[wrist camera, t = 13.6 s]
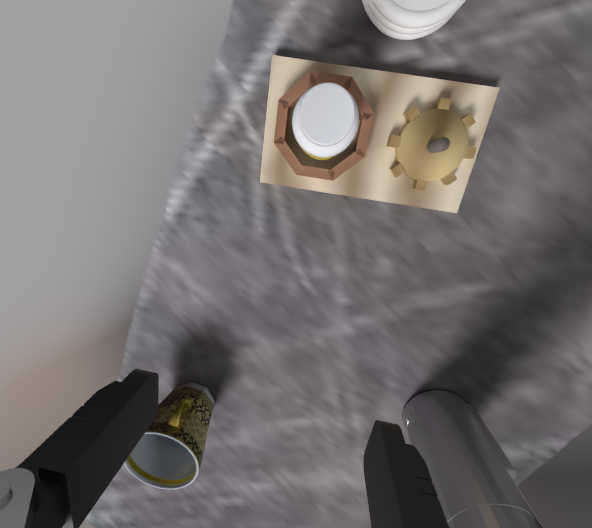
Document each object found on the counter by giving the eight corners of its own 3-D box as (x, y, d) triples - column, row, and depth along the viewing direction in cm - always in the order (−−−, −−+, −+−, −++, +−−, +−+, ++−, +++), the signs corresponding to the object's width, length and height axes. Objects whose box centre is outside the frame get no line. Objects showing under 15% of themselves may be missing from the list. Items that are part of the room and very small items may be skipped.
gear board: (492, 91, 27) (526, 75, 23) (452, 211, 31) (474, 218, 27) (274, 59, 28) (265, 38, 23) (261, 181, 32) (252, 183, 27)
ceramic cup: (215, 430, 45) (187, 499, 36) (157, 410, 45) (114, 473, 35) (238, 372, 41) (214, 432, 32) (175, 348, 41) (131, 403, 31)
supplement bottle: (331, 170, 30) (337, 170, 20) (288, 143, 29) (273, 131, 20) (360, 121, 28) (380, 97, 19) (314, 92, 27) (312, 52, 18)
